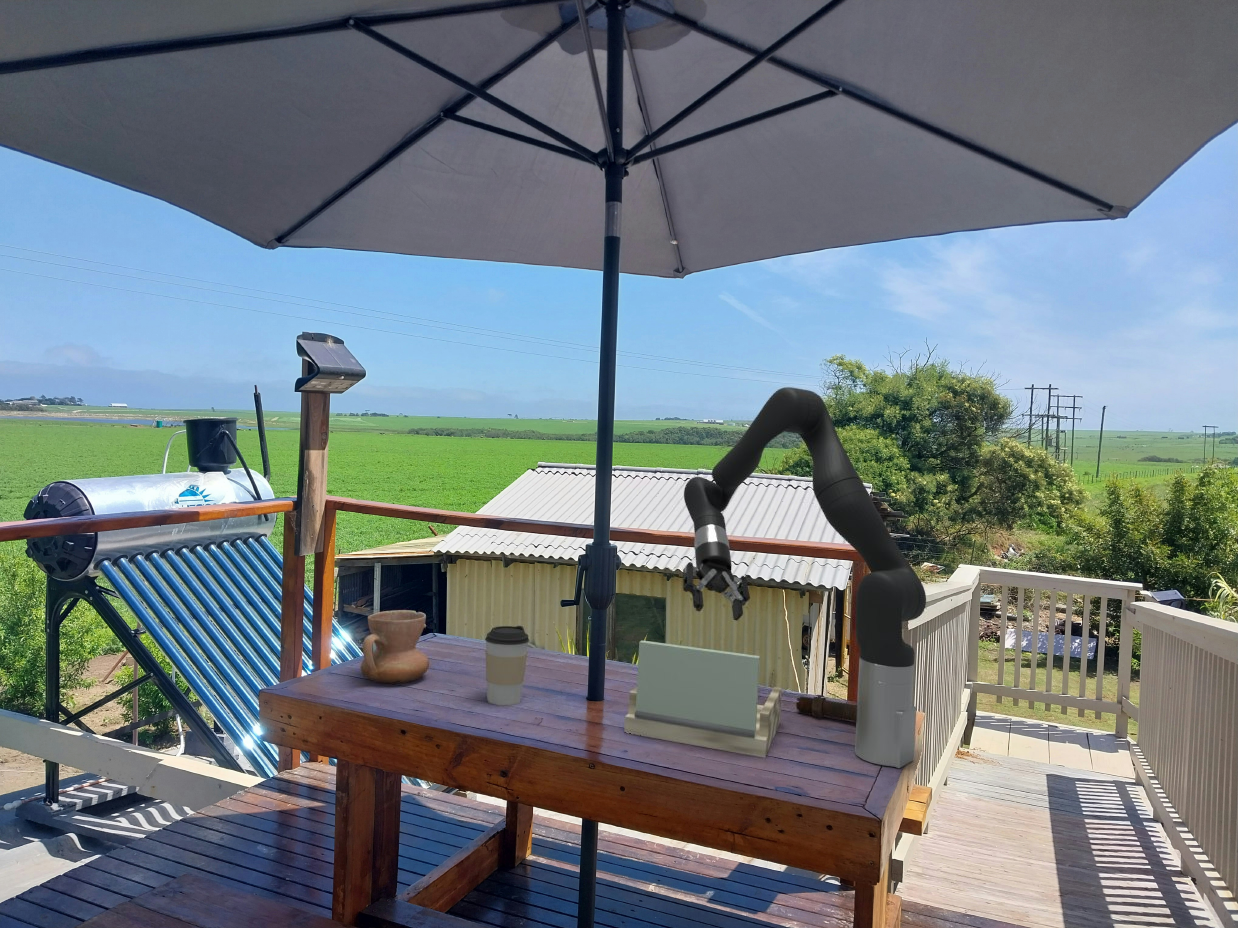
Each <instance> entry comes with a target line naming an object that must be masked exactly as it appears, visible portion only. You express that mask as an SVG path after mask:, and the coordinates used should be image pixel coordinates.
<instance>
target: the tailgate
mask: <svg viewBox="0 0 1238 928" xmlns="http://www.w3.org/2000/svg"><path fill="white" fill-rule="evenodd" d="M638 643H639V646H638V657H637V658H638V663H637V677H636V678H637V679H636V687H637V695H636V711H635V715H634V716H635V718H640V719H646V720H652V721H657V722H663V723H669V724H675V725H681V726H687V727H693V728H699V729H704V730H710V731H716V732H722V733H728V734H734V735H740V736H745V737H751V738H755V736H756V721H757V705H758V700H759V699H758V698H759V678H760V661H761V660H760V659H761V656H760V655H753V654H747V653H738V652H733V651H732V652H731V651H723V650H716V649H708V648H702V647H701V648H700V647H694V646H687V645H679V644H670V643H663V642H656V641H648V640H640V641H639V642H638Z"/></svg>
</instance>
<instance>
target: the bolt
mask: <svg viewBox="0 0 1238 928" xmlns="http://www.w3.org/2000/svg"><path fill="white" fill-rule="evenodd" d="M815 696H818V697H815ZM815 696H814V697H807V696H803V695H802V696H800V697H797V698H796V700H797V702H795V707H796V710H797V711H798V712H799V713H806V714H812V717H813V718H814V719H818V718H819V719H818V720H821V719H822V718H823V719H825V717H827V718H834V719H841V720H846V721H851V722H854V723H856V717H857V704H853V703H852V704H851V703H846V702H845V703H844V702H840V701H832V700H827V698H826V697H825V695H821V694H816V695H815ZM821 697H825V698H821ZM824 716H825V717H824Z"/></svg>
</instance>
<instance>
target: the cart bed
mask: <svg viewBox="0 0 1238 928" xmlns="http://www.w3.org/2000/svg"><path fill="white" fill-rule="evenodd" d="M782 690H783V689H782V687H776V686H774V687H773V688H772V690H771V692H770V694H769V695H768V698H767V700H766V702H765V703H764V705H761V704H757V721H756V736H755V738H751V737H745V736H740V735H734V734H728V733H722V732H716V731H710V730H704V729H699V728H693V727H687V726H681V725H675V724H669V723H663V722H657V721H652V720H646V719H640V718H635V716H634V715H635V711H636V695H637V686H635V687H634V688H633V689H632V690H630V691H629V695H628V697H629V698H628V699H629V700H628V713H627V714H626V715H625V716H624V726H623V727H624V728H623V729H624V730H623V732H626V733H625V734H629V733H631V735H634V734H635V736H640V735H641V737H645V738H646V737H647V738H651V739H658V740H662V741H669V742H674V743H679V744H680V743H681V744H685V745H691V746H696V747H702V748H703V747H704V748H709V749H715V750H719V751H726V752H730V753H736V754H742V755H747V756H752V757H759V758H764V759H765V758H766V757H767V754H768V752H769V750H770V747H771V744H772V743H773V740H774V738H775V736H776V733H777V730H778V729H779V726H780V724H781V707H782Z"/></svg>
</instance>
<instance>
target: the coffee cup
mask: <svg viewBox="0 0 1238 928" xmlns="http://www.w3.org/2000/svg"><path fill="white" fill-rule="evenodd" d="M484 640H485V644H486V645H485V646H486V650H485V674H486V675H485V676H486V679H485V681H486V692H487V693H486V694H487V695H486V698H487V703H489V704H492V705H494V706H495V705H496V706H515V705H517V704H519V703H520V702H521V700H522V699H521V698H522V691H523V683H524V680H525V673H526V666H527V658H528V645H529V642H530V639H529V635H528V634H527V633H526V631H525V628H524V627H523V626H522V625H516V626H512V625H511V626H510V625H502V626H501V625H500V626H494V627H492V628H491V630H490V631H489V632H487V634H486V637H485V638H484Z"/></svg>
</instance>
